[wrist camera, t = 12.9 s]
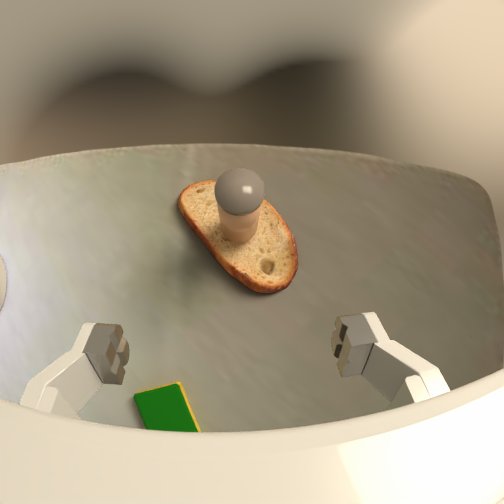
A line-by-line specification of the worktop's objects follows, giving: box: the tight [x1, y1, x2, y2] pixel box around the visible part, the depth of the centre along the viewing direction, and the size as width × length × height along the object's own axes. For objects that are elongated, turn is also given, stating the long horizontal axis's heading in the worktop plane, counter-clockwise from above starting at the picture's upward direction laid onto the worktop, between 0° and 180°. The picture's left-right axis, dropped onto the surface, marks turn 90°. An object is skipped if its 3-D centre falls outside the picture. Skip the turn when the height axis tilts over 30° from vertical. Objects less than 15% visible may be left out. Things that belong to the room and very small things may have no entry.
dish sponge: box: [134, 382, 201, 432], centre depth 36 cm, size 7×14×2 cm, turn 20°
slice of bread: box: [178, 180, 298, 293], centre depth 43 cm, size 18×18×4 cm
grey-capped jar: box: [214, 168, 265, 243], centre depth 37 cm, size 5×5×11 cm
